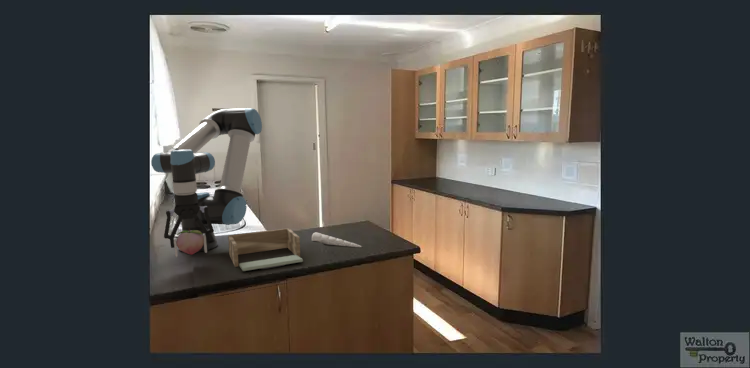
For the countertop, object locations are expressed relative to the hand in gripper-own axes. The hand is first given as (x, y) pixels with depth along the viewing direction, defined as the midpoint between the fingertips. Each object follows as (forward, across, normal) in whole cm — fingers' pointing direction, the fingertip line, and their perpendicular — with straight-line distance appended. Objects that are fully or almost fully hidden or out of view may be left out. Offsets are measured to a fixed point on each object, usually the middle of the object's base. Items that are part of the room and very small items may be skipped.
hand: (191, 253), depth 151 cm
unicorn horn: (+7, -57, -3) cm, 58 cm away
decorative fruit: (0, 0, 0) cm, 1 cm away
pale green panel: (+4, -26, +11) cm, 28 cm away
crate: (+6, -26, +3) cm, 26 cm away
